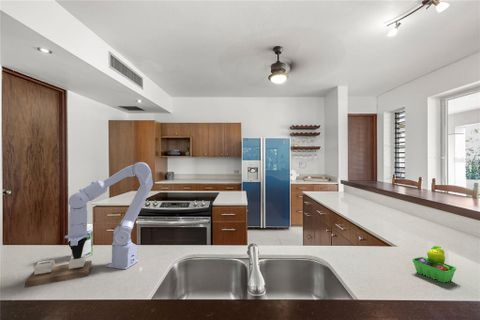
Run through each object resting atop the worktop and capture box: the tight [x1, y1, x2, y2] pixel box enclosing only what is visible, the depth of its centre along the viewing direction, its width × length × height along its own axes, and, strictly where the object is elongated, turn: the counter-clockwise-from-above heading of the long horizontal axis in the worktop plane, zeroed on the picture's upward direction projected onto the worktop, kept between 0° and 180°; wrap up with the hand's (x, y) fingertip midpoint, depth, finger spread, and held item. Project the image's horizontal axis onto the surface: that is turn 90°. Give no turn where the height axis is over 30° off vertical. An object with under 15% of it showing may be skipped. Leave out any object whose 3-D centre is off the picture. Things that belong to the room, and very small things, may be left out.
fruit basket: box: [411, 245, 457, 284], centre depth 86 cm, size 11×9×11 cm
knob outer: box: [33, 259, 56, 275], centre depth 82 cm, size 5×5×3 cm
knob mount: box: [24, 260, 93, 288], centre depth 85 cm, size 18×10×4 cm, turn 117°
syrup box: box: [71, 222, 94, 258], centre depth 102 cm, size 6×6×14 cm
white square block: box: [68, 255, 87, 269], centre depth 87 cm, size 5×5×3 cm
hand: (77, 258), depth 87 cm, fingers closed, pressing on white square block
